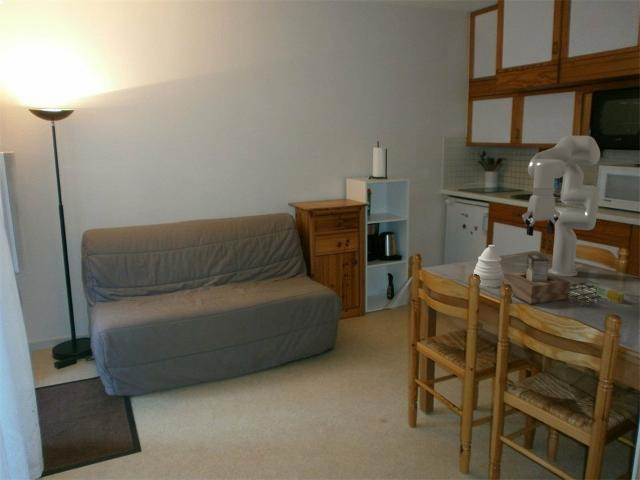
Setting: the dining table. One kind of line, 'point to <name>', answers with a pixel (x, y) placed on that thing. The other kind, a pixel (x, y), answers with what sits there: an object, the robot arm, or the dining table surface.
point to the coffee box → (537, 268)
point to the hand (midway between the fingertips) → (539, 234)
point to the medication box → (609, 294)
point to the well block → (538, 289)
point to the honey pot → (489, 268)
